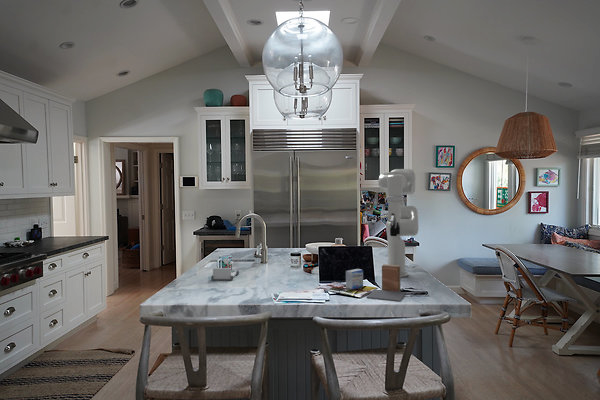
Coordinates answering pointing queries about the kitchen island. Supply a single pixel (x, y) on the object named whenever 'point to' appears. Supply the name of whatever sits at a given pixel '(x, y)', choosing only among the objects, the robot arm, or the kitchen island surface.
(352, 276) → the medicine box
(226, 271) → the grey desk organizer
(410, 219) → the robot arm
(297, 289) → the kitchen island surface
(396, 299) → the charcoal mat
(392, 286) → the brown wooden block
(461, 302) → the kitchen island surface
